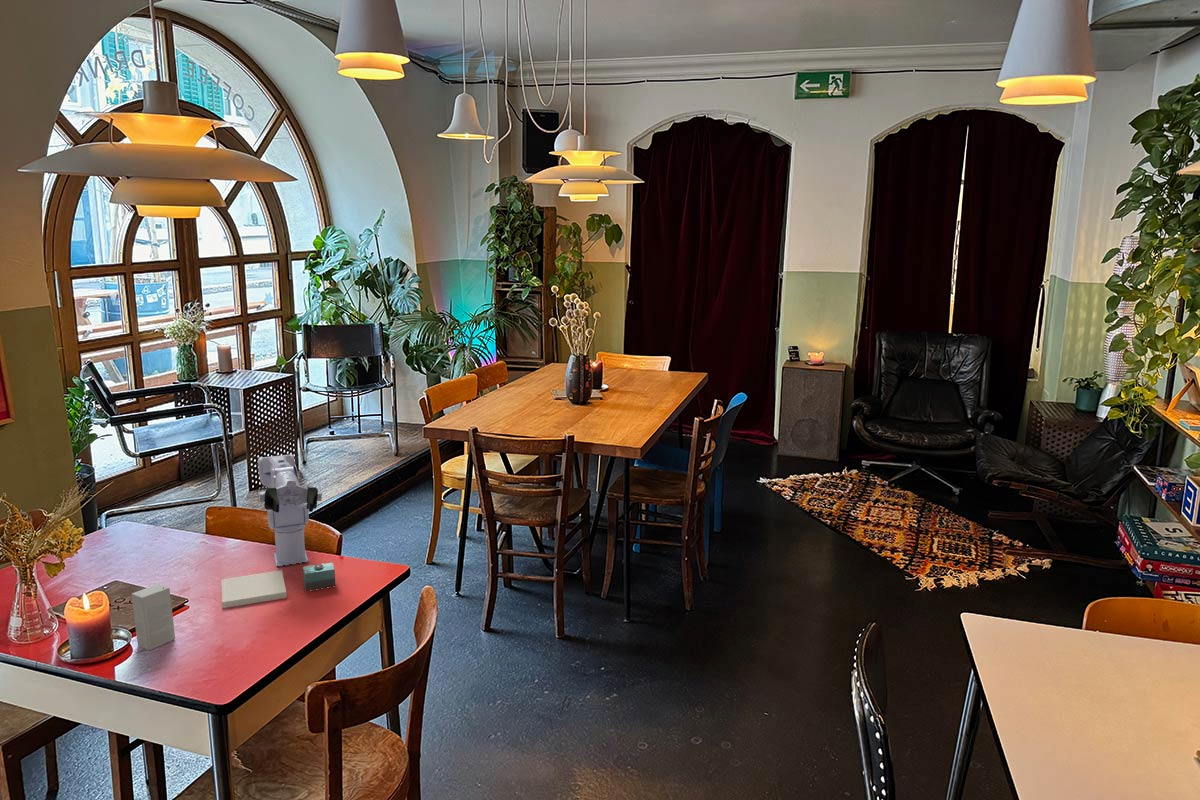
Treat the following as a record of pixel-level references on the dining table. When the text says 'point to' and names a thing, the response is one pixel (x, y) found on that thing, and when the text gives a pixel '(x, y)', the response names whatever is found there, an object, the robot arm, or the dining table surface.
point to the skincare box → (153, 616)
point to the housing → (319, 576)
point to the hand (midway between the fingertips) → (294, 508)
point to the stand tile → (253, 589)
